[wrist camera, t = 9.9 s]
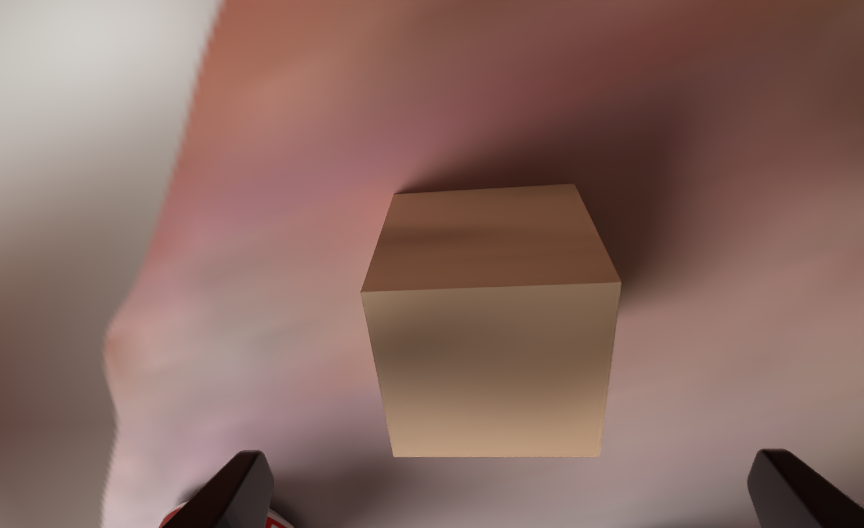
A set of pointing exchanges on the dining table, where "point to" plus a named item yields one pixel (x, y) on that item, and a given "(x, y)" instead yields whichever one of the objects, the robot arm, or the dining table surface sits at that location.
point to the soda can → (274, 524)
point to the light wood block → (492, 323)
